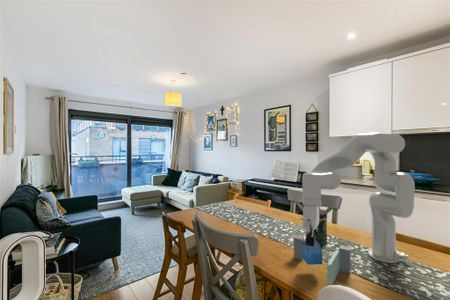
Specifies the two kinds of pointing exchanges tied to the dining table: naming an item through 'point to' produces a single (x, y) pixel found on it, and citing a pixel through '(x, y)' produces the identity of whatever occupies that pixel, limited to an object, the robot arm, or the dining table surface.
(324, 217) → the coffee jar
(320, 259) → the perfume bottle
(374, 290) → the dining table surface
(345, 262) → the door frame
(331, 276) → the door
